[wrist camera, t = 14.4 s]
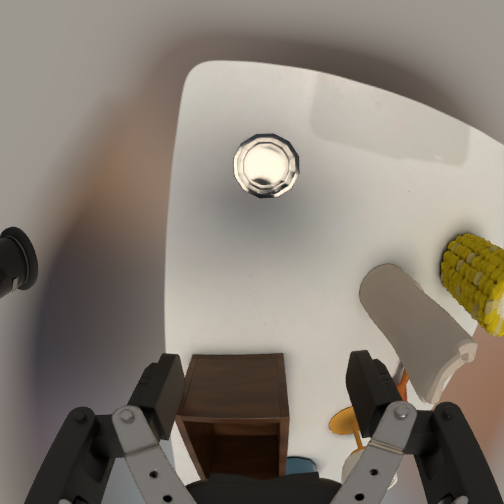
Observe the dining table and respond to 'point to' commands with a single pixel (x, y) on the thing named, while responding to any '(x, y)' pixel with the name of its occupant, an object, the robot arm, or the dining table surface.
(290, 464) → the wine bottle
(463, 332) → the candle
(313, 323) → the dining table surface
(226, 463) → the chest
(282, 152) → the bowl
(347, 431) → the cup
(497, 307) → the food
